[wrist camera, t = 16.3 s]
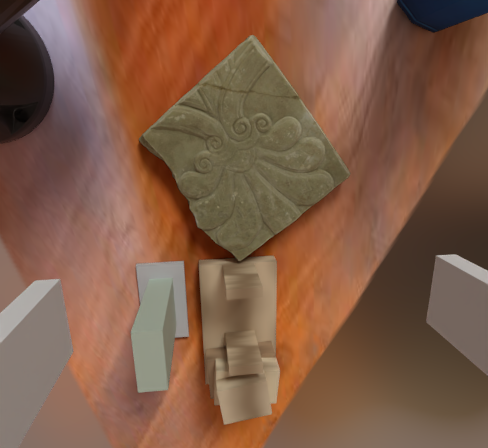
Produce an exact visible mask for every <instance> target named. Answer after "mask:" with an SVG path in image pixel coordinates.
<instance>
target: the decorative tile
mask: <svg viewBox="0 0 488 448" xmlns="http://www.w3.org/2000/svg"><path fill="white" fill-rule="evenodd" d="M139 141H140V142H141V143H142V144H143V145H144V146H145V147H146V148H147V149H148V150H149V151H150V152H151V153H153V154H154V155H155V156H157V157H158V158H160V159H162V160H163V161H164V162H165V163H166V165H168V167H169V169H170V170H171V172H172V176H173V178H174V179H175V180H176V183H177V185H178V186H177V187H178V189H179V190H180V192H181V193H182V194H183V195H184V196H185V197H186V198H187V199H188V203H189V206H190V207H189V208H190V211H191V212H192V213H193V215H194V217H195V220H196V224H197V227H198V228H200V229H202V230H203V231H204V232H205V233H206V234H207V235H209V236H210V237H211V238H212V239H213V240H214V242H215V243H216V244H218V245H220V246H222V247H223V248H224V249H226V250H228V251H229V252H231V253H232V254H233V255H234V256H235V258H237V260H238V261H241V260H242V259H244V258H245V257H247V256H248V255H249V254H251V253H252V252H253V251H255V250H256V249H257V248H259V247H260V246H261V245H263V244H264V243H265V242H266V241H267V240H269V239H270V238H271V237H273V236H274V235H275V234H277V233H279V232H280V231H282V230H283V229H284V228H285V227H287V226H288V225H290V224H291V223H292V222H294V221H295V220H296V219H298V218H299V217H300V216H301V214H303V213H304V212H305V211H306V210H307V209H309V208H310V207H311V206H312V205H314V204H315V203H317V202H318V201H320V200H321V199H322V198H324V197H325V196H326V195H327V194H328V193H329V192H331V191H332V190H333V189H334V188H335V187H336V186H338V185H339V184H340V183H342V182H343V181H344V180H346V179H347V178H348V177H349V176H350V172H349V170H348V168H347V167H346V165H345V164H344V162H343V161H342V159H341V158H340V156H339V155H338V153H337V152H336V150H335V149H334V147H333V146H332V144H331V143H330V141H329V140H328V138H327V137H326V135H325V134H324V132H323V131H322V129H321V128H320V126H319V125H318V123H317V122H316V121H315V119H314V118H313V116H312V115H311V113H310V112H309V110H308V109H307V108H306V106H305V105H304V103H303V102H302V100H301V99H300V98H299V96H298V94H297V92H296V91H295V90H294V88H293V87H292V86H291V84H290V83H289V81H288V80H287V79H286V77H285V76H284V75H283V73H282V72H281V70H280V69H279V68H278V66H277V65H276V64H275V62H274V61H273V60H272V58H271V57H270V55H269V54H268V53H267V51H266V50H265V49H264V47H263V46H262V45H261V43H260V42H259V41H258V39H257V38H256V37H255V36H254V35H251V36H249V37H248V38H247V39H246V40H245V41H244V42H242V43H241V44H240V45H239V46H238V47H237V48H236V49H235V50H234V51H232V52H231V53H230V54H229V55H228V56H227V57H226V58H225V59H224V60H223V61H222V62H220V63H219V64H218V65H217V66H216V67H214V68H213V69H212V70H211V71H210V72H209V73H208V74H207V75H206V76H205V77H204V78H203V79H202V80H201V81H200V82H199V83H198V84H197V85H196V86H194V87H193V88H192V89H191V90H190V91H189V92H188V93H187V94H185V95H184V96H183V97H182V98H181V99H180V100H179V101H178V102H177V103H176V104H175V105H174V106H172V107H171V108H170V109H169V110H168V111H167V112H166V113H165V114H164V115H162V116H161V117H160V118H159V120H158V121H157V122H156V123H154V124H153V125H152V126H151V127H150V128H149V129H148V130H147V131H146V132H145V133H143V134H142V136H141V137H140V138H139Z"/></svg>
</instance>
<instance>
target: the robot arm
mask: <svg viewBox="0 0 488 448" xmlns="http://www.w3.org/2000/svg"><path fill="white" fill-rule="evenodd" d="M38 1H39V0H0V143H5V142H10V141H13V140H16V139H19V138H21V137H23V136H25V135H26V134H28V133H29V132H31V131H32V130H33V129H34V128H36V127H37V126H38V125H39V123H40V122H41V121H42V120H43V118H44V117H45V115H46V113H47V111H48V109H49V107H50V104H51V101H52V97H53V91H54V74H53V68H52V63H51V59H50V56H49V54H48V51H47V49H46V47H45V45H44V42H43V41H42V39H41V37H40V36H39V34H38V33H37V31H36V30H35V29H34V27H33V26H32V25H31V24H30V22H29V21H28V20H27V19H26V18H25V17H24V16H23V14H24V13H26V12H27V11H28V10H29V9H30V8H31V7H32V6H34V5H35V4H36V3H37V2H38ZM426 322H427V323H428V324H429V325H430V326H432V327H433V328H434V329H435V330H436V331H437V332H438V333H439V334H441V335H442V336H443V337H444V338H445V339H446V340H448V341H449V342H450V343H451V344H452V345H453V346H454V347H455V348H457V349H458V350H459V351H460V352H461V353H462V354H463V355H465V356H466V357H467V358H468V359H469V360H470V361H472V362H473V363H474V364H475V365H476V366H477V367H478V368H479V369H481V370H482V371H483V372H484V373H485V374H486V375H488V271H487V270H485V269H483V268H481V267H479V266H477V265H475V264H473V263H471V262H469V261H467V260H465V259H463V258H461V257H459V256H457V255H439V256H436V260H435V267H434V273H433V280H432V287H431V294H430V300H429V307H428V314H427V320H426ZM72 353H73V347H72V341H71V336H70V330H69V325H68V319H67V314H66V308H65V303H64V297H63V292H62V286H61V281H60V279H52V280H36V281H34V282H33V283H32V284H31V285H30V286H29V287H28V288H27V289H26V290H25V291H23V292H22V293H21V294H20V295H19V296H18V297H17V298H16V299H15V300H14V301H13V302H12V303H11V304H10V305H8V306H7V307H6V308H5V309H4V310H3V311H2V312H1V313H0V448H18V447H19V445H20V444H21V442H22V440H23V438H24V436H25V435H26V433H27V431H28V430H29V428H30V426H31V424H32V423H33V421H34V419H35V418H36V416H37V414H38V412H39V411H40V409H41V407H42V405H43V404H44V402H45V400H46V398H47V396H48V395H49V393H50V391H51V390H52V388H53V386H54V384H55V383H56V381H57V379H58V377H59V376H60V374H61V372H62V370H63V369H64V367H65V365H66V363H67V362H68V360H69V358H70V357H71V355H72Z"/></svg>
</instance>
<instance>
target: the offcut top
mask: <svg viewBox="0 0 488 448" xmlns="http://www.w3.org/2000/svg"><path fill="white" fill-rule="evenodd" d="M216 385H217V395H218V399H219V404H220V408H221V413H222V417H223V422H224V425H225V424H230V423H234V422H238V421H243V420H247V419H252V418H256V417H261V416H265V415H270V414H272V410H271V404H270V398H269V392H268V386H267V381H266V377H265V373H264V370H263V373H257V374H246V375H236V376H232V377H227V378H222V379H218V380H216Z"/></svg>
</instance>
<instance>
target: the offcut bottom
mask: <svg viewBox="0 0 488 448" xmlns="http://www.w3.org/2000/svg"><path fill="white" fill-rule="evenodd" d="M258 346H259V350H260V354H261V358H275V351H274V348H273V345H272V342H271V341H264V342H258ZM216 358H227V351H226V347H218V348H211V349H206V362H207V370H208V379H209V387H210V396H211V399H213V398H214V377H215V359H216Z"/></svg>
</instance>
